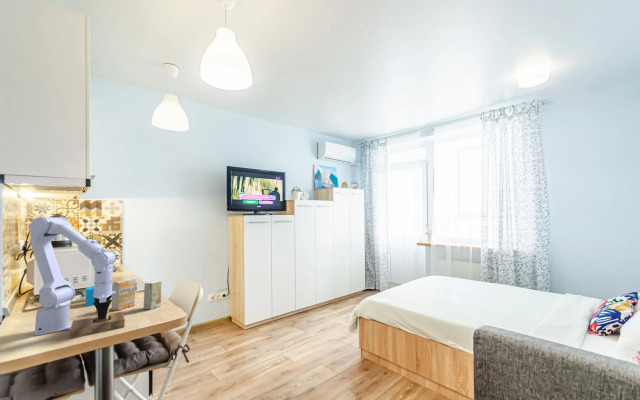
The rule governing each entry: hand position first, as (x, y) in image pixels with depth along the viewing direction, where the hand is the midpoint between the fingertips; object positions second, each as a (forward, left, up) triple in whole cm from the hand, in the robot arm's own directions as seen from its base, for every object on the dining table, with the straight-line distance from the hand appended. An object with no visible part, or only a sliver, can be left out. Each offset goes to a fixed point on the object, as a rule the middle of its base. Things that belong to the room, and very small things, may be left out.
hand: (102, 316), depth 110 cm
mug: (-1, +43, -4) cm, 43 cm away
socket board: (-1, 0, -4) cm, 4 cm away
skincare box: (+19, +15, -4) cm, 25 cm away
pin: (0, 0, -3) cm, 3 cm away
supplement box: (+8, +24, -4) cm, 26 cm away
